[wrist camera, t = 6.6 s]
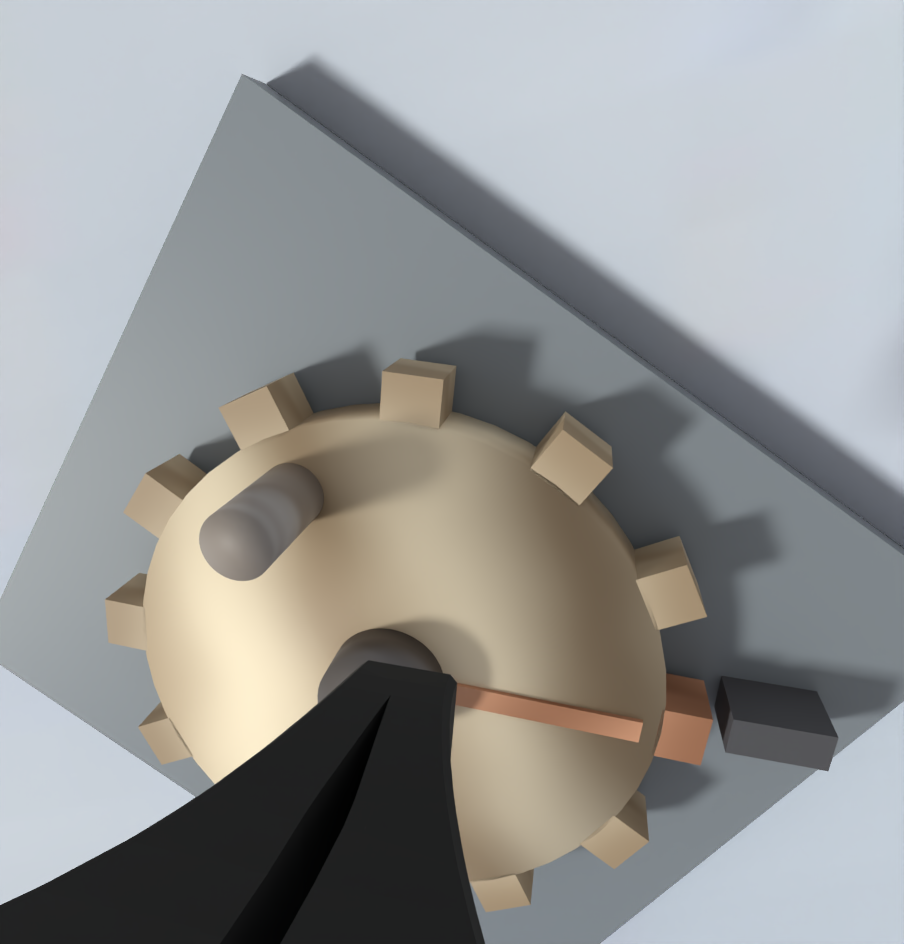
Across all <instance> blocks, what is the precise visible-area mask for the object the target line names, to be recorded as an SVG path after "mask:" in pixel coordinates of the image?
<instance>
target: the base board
mask: <svg viewBox="0 0 904 944" xmlns="http://www.w3.org/2000/svg"><path fill="white" fill-rule="evenodd" d="M400 358H403V359H410V360H417V361H425V362H432V363H439V364H447V365H454V366H456V376H455V386H454V396H453V406H452V412H457V413H461V414H464V415H467V416H470V417H472V418H475V419H478V420H481V421H484V422H487V423H490V424H492V425H495V426H497V427H499V428H501V429H503V430H505V431H507V432H509V433H511V434H513V435H515V436H517V437H519V438H522V439H524V440H526V441H528V442H529V443H531V444H532V445H534V446H535V447H536V446H537V445H538V444H539V443H540V442H541V440H542V439H543V438H544V437H545V436H546V434H547V433H548V432H549V431H550V430H551V428H552V427H553V426H554V425H555V424H556V422H557V421H558V420H559V419H560V417H561V416H562V415H563V414H564V413H565V411H566V412H567V413H568V414H570V415H571V416H572V417H573V418H575V419H576V420H577V421H579V422H580V423H581V424H583V425H584V426H585V427H587V428H588V429H589V430H590V431H592V432H593V433H594V434H596V435H597V436H598V437H600V438H601V439H602V440H604V441H605V442H606V443H607V444H609V445H610V446H611V447H612V461H613V469H612V470H611V471H610V472H609V473H608V474H607V475H606V476H605V478H604V479H603V480H602V481H601V482H600V483H599V484H598V485H597V486H596V488H595V489H594V490H593V491H592V492H593V494H594V495H595V496H596V497H597V498H598V499H599V500H600V501H601V503H602V504H603V505H604V506H605V507H606V508H607V509H608V510H609V512H610V513H611V514H612V515H613V517H614V518H615V520H616V521H617V523H618V524H619V526H620V527H621V529H622V530H623V532H624V533H625V535H626V536H627V538H628V539H629V541H630V542H631V544H632V546H633V548H634V550H635V549H638V548H641V547H645V546H648V545H651V544H654V543H658V542H661V541H664V540H667V539H671V538H674V537H677V536H680V539H681V541H682V544H683V546H684V549H685V552H686V554H687V557H688V559H689V562H690V565H691V567H692V570H693V573H694V575H695V578H696V580H697V583H698V586H699V590H700V593H701V597H702V600H703V604H704V607H705V611H706V615H707V617H705V618H701V619H697V620H694V621H690V622H686V623H682V624H679V625H675V626H671V627H668V628H664V629H660V635H661V642H662V648H663V654H664V661H665V667H666V673H667V674H673V675H678V676H683V677H688V678H694V679H699V680H704V683H705V687H706V692H707V696H708V700H709V704H710V709H711V713H712V717H713V722H712V726H711V730H710V733H709V737H708V740H707V744H706V748H705V751H704V755H703V758H702V762H701V766H700V765H696V764H691V763H686V762H681V761H676V760H672V759H667V758H662V757H657V756H653V759H652V762H651V764H650V766H649V768H648V770H647V772H646V774H645V776H644V777H643V779H642V781H641V783H640V785H639V787H638V789H637V791H639V792H640V793H641V794H643V795H644V796H645V799H646V811H647V822H648V834H649V842H648V843H647V844H645V845H644V846H643V847H642V848H640V849H639V850H638V851H637V852H635V853H634V854H633V855H632V856H630V857H629V858H628V859H627V860H625V861H624V862H623V863H622V864H620V865H619V866H618V867H617V868H615V869H613V868H612V867H610V866H609V865H608V864H606V863H605V862H604V861H602V860H601V859H599V858H598V857H597V856H595V855H594V854H593V853H591V852H590V851H588V850H587V849H586V848H584V847H583V846H582V845H580V846H579V847H578V848H576V849H575V850H573V851H571V852H569V853H567V854H565V855H563V856H561V857H559V858H558V859H556V860H554V861H552V862H550V863H547V864H545V865H542V866H539V867H537V868H534V875H533V885H532V896H531V905H527V906H521V907H515V908H509V909H503V910H497V911H490V912H486V911H485V909H484V908H483V906H482V904H481V902H480V900H479V898H478V896H477V894H476V893H475V891H474V889H473V887H472V885H471V883H470V886H471V891H472V895H473V899H474V903H475V907H476V911H477V915H478V919H479V923H480V926H481V930H482V934H483V937H484V941H485V944H600V943H601V942H602V941H604V940H605V939H606V938H607V937H609V936H610V935H611V934H612V933H614V932H615V931H616V930H617V929H619V928H620V927H621V926H622V925H624V924H625V923H626V922H627V921H629V920H630V919H631V918H633V917H634V916H635V915H636V914H638V913H639V912H640V911H641V910H643V909H644V908H645V907H646V906H648V905H649V904H650V903H651V902H653V901H654V900H655V899H656V898H658V897H659V896H660V895H661V894H663V893H664V892H665V891H666V890H668V889H669V888H670V887H671V886H673V885H674V884H675V883H676V882H678V881H679V880H680V879H681V878H683V877H684V876H685V875H686V874H688V873H689V872H690V871H691V870H693V869H694V868H695V867H696V866H698V865H699V864H700V863H701V862H703V861H704V860H705V859H706V858H708V857H709V856H710V855H711V854H713V853H714V852H715V851H716V850H718V849H719V848H720V847H721V846H723V845H724V844H725V843H726V842H728V841H729V840H730V839H731V838H733V837H734V836H735V835H736V834H738V833H739V832H740V831H741V830H743V829H744V828H745V827H746V826H748V825H749V824H750V823H751V822H753V821H754V820H755V819H756V818H758V817H759V816H760V815H761V814H763V813H764V812H765V811H766V810H768V809H769V808H770V807H772V806H773V805H774V804H775V803H777V802H778V801H779V800H780V799H782V798H783V797H784V796H785V795H787V794H788V793H789V792H790V791H792V790H793V789H794V788H795V787H797V786H798V785H799V784H800V783H802V782H803V781H804V780H805V779H807V778H808V777H809V776H810V775H812V774H813V773H814V772H815V771H817V770H818V769H819V770H825V771H828V770H829V767H830V764H831V761H832V758H833V757H834V756H835V755H837V754H838V753H839V752H840V751H842V750H843V749H844V748H845V747H847V746H848V745H849V744H850V743H852V742H853V741H854V740H855V739H857V738H858V737H859V736H860V735H862V734H863V733H864V732H865V731H867V730H868V729H869V728H870V727H872V726H873V725H874V724H875V723H877V722H878V721H879V720H880V719H882V718H883V717H884V716H885V715H887V714H888V713H889V712H890V711H892V710H893V709H894V708H895V707H897V706H898V705H899V704H900V703H902V702H903V701H904V548H902V547H901V546H899V545H898V544H897V543H895V542H894V541H893V540H891V539H890V538H889V537H887V536H886V535H884V534H883V533H882V532H880V531H879V530H878V529H876V528H875V527H873V526H872V525H871V524H869V523H868V522H867V521H865V520H864V519H862V518H861V517H860V516H858V515H857V514H856V513H854V512H853V511H851V510H850V509H849V508H847V507H846V506H845V505H843V504H842V503H840V502H839V501H838V500H836V499H835V498H834V497H832V496H831V495H829V494H828V493H827V492H825V491H824V490H823V489H821V488H820V487H818V486H817V485H816V484H814V483H813V482H812V481H810V480H809V479H807V478H806V477H805V476H803V475H802V474H801V473H799V472H798V471H796V470H795V469H794V468H792V467H791V466H790V465H788V464H787V463H785V462H784V461H783V460H781V459H780V458H779V457H777V456H776V455H774V454H773V453H772V452H770V451H769V450H768V449H766V448H765V447H763V446H762V445H761V444H759V443H758V442H757V441H755V440H754V439H753V438H751V437H750V436H748V435H747V434H746V433H744V432H743V431H742V430H740V429H739V428H737V427H736V426H735V425H733V424H732V423H731V422H729V421H728V420H726V419H725V418H724V417H722V416H721V415H720V414H718V413H717V412H715V411H714V410H713V409H711V408H710V407H709V406H707V405H706V404H704V403H703V402H702V401H700V400H699V399H698V398H696V397H695V396H693V395H692V394H691V393H689V392H688V391H687V390H685V389H684V388H682V387H681V386H680V385H678V384H677V383H676V382H674V381H673V380H671V379H670V378H669V377H667V376H666V375H665V374H663V373H662V372H660V371H659V370H658V369H656V368H655V367H654V366H652V365H651V364H649V363H648V362H647V361H645V360H644V359H643V358H641V357H640V356H638V355H637V354H636V353H634V352H633V351H632V350H630V349H629V348H628V347H626V346H625V345H623V344H622V343H621V342H619V341H618V340H617V339H615V338H614V337H612V336H611V335H610V334H608V333H607V332H606V331H604V330H603V329H601V328H600V327H599V326H597V325H596V324H595V323H593V322H592V321H590V320H589V319H588V318H586V317H585V316H584V315H582V314H581V313H579V312H578V311H577V310H575V309H574V308H573V307H571V306H570V305H568V304H567V303H566V302H564V301H563V300H562V299H560V298H559V297H557V296H556V295H555V294H553V293H552V292H551V291H549V290H548V289H546V288H545V287H544V286H542V285H541V284H540V283H538V282H537V281H535V280H534V279H533V278H531V277H530V276H529V275H527V274H526V273H524V272H523V271H522V270H520V269H519V268H518V267H516V266H515V265H513V264H512V263H511V262H509V261H508V260H507V259H505V258H504V257H502V256H501V255H500V254H498V253H497V252H496V251H494V250H493V249H492V248H490V247H489V246H487V245H486V244H485V243H483V242H482V241H481V240H479V239H478V238H476V237H475V236H474V235H472V234H471V233H470V232H468V231H467V230H465V229H464V228H463V227H461V226H460V225H459V224H457V223H456V222H454V221H453V220H452V219H450V218H449V217H448V216H446V215H445V214H443V213H442V212H441V211H439V210H438V209H437V208H435V207H434V206H432V205H431V204H430V203H428V202H427V201H426V200H424V199H423V198H421V197H420V196H419V195H417V194H416V193H415V192H413V191H412V190H410V189H409V188H408V187H406V186H405V185H404V184H402V183H401V182H399V181H398V180H397V179H395V178H394V177H393V176H391V175H390V174H388V173H387V172H386V171H384V170H383V169H382V168H380V167H379V166H377V165H376V164H375V163H373V162H372V161H371V160H369V159H368V158H367V157H365V156H364V155H362V154H361V153H360V152H358V151H357V150H356V149H354V148H353V147H351V146H350V145H349V144H347V143H346V142H345V141H343V140H342V139H340V138H339V137H338V136H336V135H335V134H334V133H332V132H331V131H329V130H328V129H327V128H325V127H324V126H323V125H321V124H320V123H318V122H317V121H316V120H314V119H313V118H312V117H310V116H309V115H307V114H306V113H305V112H303V111H302V110H301V109H299V108H298V107H296V106H295V105H294V104H292V103H291V102H290V101H288V100H287V99H285V98H284V97H283V96H281V95H280V94H279V93H277V92H276V91H274V90H273V89H272V88H270V87H269V86H268V85H266V84H265V83H263V82H260V81H258V80H255V79H253V78H250V77H248V76H246V75H243V74H242V75H241V77H240V80H239V82H238V84H237V86H236V88H235V90H234V93H233V95H232V97H231V99H230V101H229V103H228V106H227V108H226V110H225V112H224V114H223V117H222V119H221V121H220V123H219V125H218V127H217V130H216V132H215V134H214V136H213V138H212V140H211V143H210V145H209V147H208V149H207V151H206V153H205V156H204V158H203V160H202V162H201V164H200V166H199V169H198V171H197V173H196V175H195V177H194V180H193V182H192V184H191V186H190V188H189V190H188V193H187V195H186V197H185V199H184V201H183V203H182V206H181V208H180V210H179V212H178V214H177V216H176V219H175V221H174V223H173V225H172V227H171V229H170V232H169V234H168V236H167V238H166V240H165V242H164V245H163V247H162V249H161V251H160V253H159V256H158V258H157V260H156V262H155V264H154V266H153V269H152V271H151V273H150V275H149V277H148V279H147V282H146V284H145V286H144V288H143V290H142V292H141V295H140V297H139V299H138V301H137V303H136V305H135V308H134V310H133V312H132V314H131V316H130V319H129V321H128V323H127V325H126V327H125V329H124V332H123V334H122V336H121V338H120V340H119V342H118V345H117V347H116V349H115V351H114V353H113V355H112V358H111V360H110V362H109V364H108V366H107V368H106V371H105V373H104V375H103V377H102V379H101V381H100V384H99V386H98V388H97V390H96V392H95V395H94V397H93V399H92V401H91V403H90V405H89V408H88V410H87V412H86V414H85V416H84V418H83V421H82V423H81V425H80V427H79V429H78V431H77V434H76V436H75V438H74V440H73V442H72V444H71V447H70V449H69V451H68V453H67V455H66V457H65V460H64V462H63V464H62V466H61V468H60V471H59V473H58V475H57V477H56V479H55V481H54V484H53V486H52V488H51V490H50V492H49V494H48V497H47V499H46V501H45V503H44V505H43V507H42V510H41V512H40V514H39V516H38V518H37V520H36V523H35V525H34V527H33V529H32V531H31V534H30V536H29V538H28V540H27V542H26V544H25V547H24V549H23V551H22V553H21V555H20V557H19V560H18V562H17V564H16V566H15V568H14V570H13V573H12V575H11V577H10V579H9V581H8V583H7V586H6V588H5V590H4V592H3V594H2V596H1V599H0V665H1V666H3V667H4V668H6V669H7V670H9V671H10V672H12V673H13V674H15V675H16V676H17V677H19V678H20V679H22V680H23V681H25V682H26V683H28V684H29V685H31V686H32V687H34V688H35V689H37V690H38V691H40V692H41V693H43V694H44V695H46V696H47V697H49V698H50V699H52V700H53V701H55V702H56V703H58V704H59V705H60V706H62V707H63V708H65V709H66V710H68V711H69V712H71V713H72V714H74V715H75V716H77V717H78V718H80V719H81V720H83V721H84V722H86V723H87V724H89V725H90V726H92V727H93V728H95V729H96V730H98V731H99V732H101V733H102V734H103V735H105V736H106V737H108V738H109V739H111V740H112V741H114V742H115V743H117V744H118V745H120V746H121V747H123V748H124V749H126V750H127V751H129V752H130V753H132V754H133V755H135V756H136V757H138V758H139V759H141V760H142V761H144V762H145V763H146V764H148V765H149V766H151V767H152V768H154V769H155V770H157V771H158V772H160V773H161V774H163V775H164V776H166V777H167V778H169V779H170V780H172V781H173V782H175V783H176V784H178V785H179V786H181V787H182V788H184V789H185V790H187V791H188V792H189V793H191V794H192V795H194V796H195V797H197V796H198V795H200V794H201V793H203V792H204V791H206V790H207V789H209V788H210V787H212V786H213V785H215V784H214V783H213V781H212V780H211V779H210V778H209V777H208V776H207V774H206V773H205V772H204V771H203V770H202V769H201V767H200V766H199V765H198V764H197V763H196V761H195V760H194V759H193V757H189V758H185V759H181V760H178V761H174V762H170V763H167V764H163V765H162V764H161V763H160V761H159V760H158V758H157V757H156V755H155V753H154V752H153V750H152V749H151V747H150V745H149V744H148V742H147V741H146V739H145V738H144V736H143V734H142V733H141V731H140V730H139V728H138V726H139V725H140V724H141V723H142V722H143V721H144V720H145V719H146V717H147V716H148V715H149V714H150V713H151V712H152V711H153V710H154V709H155V707H156V706H157V705H158V704H159V703H160V702H161V701H160V698H159V696H158V693H157V691H156V688H155V686H154V682H153V679H152V675H151V671H150V667H149V664H148V660H147V655H146V650H141V649H136V648H131V647H126V646H121V645H117V644H112V643H108V631H107V619H106V607H105V599H106V598H107V597H109V596H110V595H111V594H113V593H114V592H115V591H116V590H118V589H119V588H120V587H122V586H123V585H124V584H125V583H127V582H128V581H129V580H131V579H132V578H133V577H134V576H136V575H137V574H138V573H143V574H147V573H148V570H149V566H150V563H151V560H152V557H153V554H154V551H155V547H156V544H157V542H158V540H159V538H157V537H156V536H155V535H153V534H152V533H151V532H149V531H148V530H146V529H145V528H144V527H142V526H141V525H140V524H138V523H137V522H135V521H134V520H133V519H131V518H130V517H129V516H127V515H126V514H124V513H123V512H124V510H125V508H126V507H127V505H128V503H129V501H130V500H131V498H132V496H133V494H134V492H135V491H136V489H137V487H138V485H139V484H140V482H141V480H142V478H143V477H144V475H145V473H147V472H148V471H150V470H152V469H154V468H155V467H157V466H159V465H161V464H163V463H164V462H166V461H168V460H170V459H171V458H173V457H175V456H177V455H178V454H180V455H182V456H183V457H185V458H186V459H187V460H189V461H190V462H191V463H193V464H194V465H195V466H197V467H198V468H200V469H201V470H202V471H204V472H205V473H206V474H208V473H209V472H210V471H212V470H213V469H215V468H216V467H217V466H219V465H220V464H221V463H223V462H224V461H226V460H227V459H228V458H230V457H231V456H232V455H234V454H235V453H237V452H238V451H240V450H241V449H240V447H239V446H238V444H237V442H236V440H235V438H234V436H233V434H232V432H231V431H230V429H229V427H228V425H227V423H226V421H225V419H224V417H223V415H222V414H221V412H220V410H219V407H221V406H223V405H225V404H227V403H229V402H231V401H233V400H235V399H237V398H239V397H241V396H243V395H245V394H247V393H249V392H251V391H253V390H256V389H258V388H260V387H262V386H264V385H267V384H269V383H271V382H273V381H276V380H278V379H280V378H282V377H284V376H287V375H289V374H291V373H294V375H295V377H296V379H297V381H298V383H299V385H300V387H301V389H302V391H303V393H304V395H305V397H306V399H307V401H308V403H309V405H310V407H311V409H312V411H313V413H316V412H319V411H323V410H328V409H334V408H339V407H344V406H349V405H356V404H375V403H380V400H381V385H382V371H383V370H385V369H386V368H387V367H389V366H390V365H392V364H393V363H394V362H396V361H397V360H399V359H400Z"/></svg>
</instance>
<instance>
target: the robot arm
mask: <svg viewBox="0 0 904 944" xmlns="http://www.w3.org/2000/svg"><path fill="white" fill-rule="evenodd" d="M456 692H457V682H456V681H455V679H454V678H453V677H452V676H451V675H450V674H445V673H440V672H434V671H428V670H422V669H416V668H411V667H405V666H399V665H393V664H388V663H382V662H376V661H370V660H368V661H366V662H365V663H364V664H362V665H361V666H360V667H358V668H357V669H356V670H355V671H354V672H353V673H352V674H351V675H349V676H348V677H347V678H346V679H345V680H344V681H343V682H342V683H340V684H339V685H338V686H337V687H336V688H335V689H334V690H333V691H332V692H330V693H329V694H328V695H327V696H326V697H325V698H324V699H322V700H321V701H320V702H319V703H318V704H317V705H315V706H314V707H313V708H312V709H311V710H310V711H309V712H307V713H306V714H305V715H304V716H303V717H301V718H300V719H299V720H298V721H296V722H295V723H294V724H293V725H292V726H290V727H289V728H288V729H287V730H285V731H284V732H283V733H282V734H281V735H279V736H278V737H277V738H276V739H274V740H273V741H272V742H271V743H270V744H268V745H267V746H266V747H264V748H263V749H262V750H261V751H259V752H258V753H257V754H255V755H254V756H253V757H251V758H250V759H248V760H247V761H246V762H244V763H243V764H242V765H240V766H239V767H238V768H236V769H235V770H234V771H232V772H231V773H229V774H228V775H227V776H225V777H224V778H223V779H221V780H220V781H219V782H217V783H216V784H215V785H213V786H212V787H210V788H209V789H207V790H206V791H204V792H203V793H201V794H200V795H198V796H197V797H196V798H194V799H193V800H191V801H190V802H188V803H187V804H185V805H184V806H182V807H180V808H179V809H177V810H176V811H174V812H173V813H171V814H170V815H168V816H166V817H165V818H163V819H161V820H160V821H158V822H157V823H155V824H153V825H152V826H150V827H149V828H147V829H145V830H144V831H142V832H140V833H139V834H137V835H135V836H134V837H132V838H130V839H128V840H127V841H125V842H123V843H121V844H119V845H117V846H115V847H114V848H112V849H110V850H108V851H106V852H104V853H102V854H100V855H99V856H97V857H95V858H93V859H91V860H89V861H87V862H85V863H84V864H82V865H80V866H78V867H76V868H74V869H72V870H70V871H69V872H67V873H65V874H63V875H61V876H59V877H57V878H55V879H54V880H52V881H50V882H48V883H46V884H44V885H42V886H40V887H38V888H36V889H34V890H31V891H29V892H27V893H25V894H23V895H21V896H19V897H17V898H15V899H12V900H10V901H8V902H6V903H4V904H2V905H0V944H485V941H484V937H483V934H482V930H481V926H480V923H479V919H478V915H477V911H476V907H475V903H474V899H473V895H472V891H471V886H470V882H469V878H468V873H467V869H466V864H465V859H464V854H463V849H462V844H461V838H460V832H459V826H458V820H457V814H456V806H455V799H454V791H453V780H452V769H451V750H452V739H453V727H454V715H455V704H456Z"/></svg>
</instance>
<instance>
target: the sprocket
mask: <svg viewBox="0 0 904 944" xmlns="http://www.w3.org/2000/svg"><path fill="white" fill-rule="evenodd" d="M455 376H456V366H454V365H447V364H439V363H432V362H425V361H417V360H410V359H403V358H400V359H399V360H397V361H396V362H394V363H393V364H392V365H390V366H389V367H387V368H386V369H385V370H383V371H382V385H381V400H380V403H375V404H356V405H349V406H344V407H339V408H334V409H328V410H323V411H319V412H316V413H313V411H312V409H311V407H310V405H309V403H308V401H307V399H306V397H305V395H304V393H303V391H302V389H301V387H300V385H299V383H298V381H297V379H296V377H295V375H294V373H291V374H289V375H287V376H284V377H282V378H280V379H278V380H276V381H273V382H271V383H269V384H267V385H264V386H262V387H260V388H258V389H256V390H253V391H251V392H249V393H247V394H245V395H243V396H241V397H239V398H237V399H235V400H233V401H231V402H229V403H227V404H225V405H223V406H221V407H219V410H220V412H221V414H222V415H223V417H224V419H225V421H226V423H227V425H228V427H229V429H230V431H231V432H232V434H233V436H234V438H235V440H236V442H237V444H238V446H239V447H240V449H241V450H240V451H238V452H237V453H235V454H234V455H232V456H231V457H230V458H228V459H227V460H226V461H224V462H223V463H221V464H220V465H219V466H217V467H216V468H215V469H213V470H212V471H210V472H209V473H208V474H206V473H205V472H204V471H202V470H201V469H200V468H198V467H197V466H195V465H194V464H193V463H191V462H190V461H189V460H187V459H186V458H185V457H183V456H182V455H180V454H178V455H177V456H175V457H173V458H171V459H170V460H168V461H166V462H164V463H163V464H161V465H159V466H157V467H155V468H154V469H152V470H150V471H148V472H147V473H145V475H144V477H143V478H142V480H141V482H140V484H139V485H138V487H137V489H136V491H135V492H134V494H133V496H132V498H131V500H130V501H129V503H128V505H127V507H126V508H125V510H124V512H123V513H124V514H126V515H127V516H129V517H130V518H131V519H133V520H134V521H135V522H137V523H138V524H140V525H141V526H142V527H144V528H145V529H146V530H148V531H149V532H151V533H152V534H153V535H155V536H156V537H157V538H159V540H158V542H157V544H156V547H155V551H154V554H153V557H152V560H151V563H150V566H149V570H148V573H147V574H143V573H138V574H137V575H136V576H134V577H133V578H132V579H131V580H129V581H128V582H127V583H125V584H124V585H123V586H122V587H120V588H119V589H118V590H116V591H115V592H114V593H113V594H111V595H110V596H109V597H107V598H106V599H105V607H106V619H107V631H108V643H112V644H117V645H121V646H126V647H131V648H136V649H141V650H146V655H147V660H148V664H149V667H150V671H151V675H152V679H153V682H154V686H155V688H156V691H157V693H158V696H159V698H160V701H161V702H160V703H159V704H158V705H157V706H156V707H155V709H154V710H153V711H152V712H151V713H150V714H149V715H148V716H147V717H146V719H145V720H144V721H143V722H142V723H141V724H140V725H139V726H138V728H139V730H140V731H141V733H142V734H143V736H144V738H145V739H146V741H147V742H148V744H149V745H150V747H151V749H152V750H153V752H154V753H155V755H156V757H157V758H158V760H159V761H160V763H161V764H162V765H163V764H167V763H170V762H174V761H178V760H181V759H185V758H189V757H193V759H194V760H195V761H196V763H197V764H198V765H199V766H200V767H201V769H202V770H203V771H204V772H205V773H206V774H207V776H208V777H209V778H210V779H211V780H212V781H213V783H214V784H216V783H217V782H219V781H220V780H221V779H223V778H224V777H225V776H227V775H228V774H229V773H231V772H232V771H234V770H235V769H236V768H238V767H239V766H240V765H242V764H243V763H244V762H246V761H247V760H248V759H250V758H251V757H253V756H254V755H255V754H257V753H258V752H259V751H261V750H262V749H263V748H264V747H266V746H267V745H268V744H270V743H271V742H272V741H273V740H274V739H276V738H277V737H278V736H279V735H281V734H282V733H283V732H284V731H285V730H287V729H288V728H289V727H290V726H292V725H293V724H294V723H295V722H296V721H298V720H299V719H300V718H301V717H303V716H304V715H305V714H306V713H307V712H309V711H310V710H311V709H312V708H313V707H314V706H315V705H317V704H318V703H319V702H320V701H321V700H322V699H324V698H325V697H326V696H327V695H328V694H329V693H330V692H332V691H333V690H334V689H335V688H336V687H337V686H338V685H339V684H340V683H342V682H343V681H344V680H345V679H346V678H347V677H348V676H349V675H351V674H352V673H353V672H354V671H355V670H356V669H357V668H358V667H360V666H361V665H362V664H364V663H365V662H366V661H368V660H370V661H376V662H382V663H388V664H393V665H399V666H405V667H411V668H416V669H422V670H428V671H434V672H440V673H445V674H450V675H451V676H452V677H453V678H454V679H455V681H456V682H457V692H456V704H455V715H454V727H453V739H452V750H451V769H452V780H453V791H454V799H455V806H456V814H457V820H458V826H459V832H460V838H461V844H462V849H463V854H464V859H465V864H466V869H467V873H468V878H469V882H470V883H471V885H472V887H473V889H474V891H475V893H476V894H477V896H478V898H479V900H480V902H481V904H482V906H483V908H484V909H485V911H486V912H490V911H497V910H503V909H509V908H515V907H521V906H527V905H531V896H532V885H533V875H534V868H537V867H539V866H542V865H545V864H547V863H550V862H552V861H554V860H556V859H558V858H559V857H561V856H563V855H565V854H567V853H569V852H571V851H573V850H575V849H576V848H578V847H579V846H580V845H582V846H583V847H584V848H586V849H587V850H588V851H590V852H591V853H593V854H594V855H595V856H597V857H598V858H599V859H601V860H602V861H604V862H605V863H606V864H608V865H609V866H610V867H612V868H613V869H615V868H617V867H618V866H619V865H620V864H622V863H623V862H624V861H625V860H627V859H628V858H629V857H630V856H632V855H633V854H634V853H635V852H637V851H638V850H639V849H640V848H642V847H643V846H644V845H645V844H647V843H648V842H649V834H648V822H647V811H646V799H645V796H644V795H643V794H641V793H640V792H639V791H637V789H638V787H639V785H640V783H641V781H642V779H643V777H644V776H645V774H646V772H647V770H648V768H649V766H650V764H651V762H652V759H653V756H657V757H662V758H667V759H672V760H676V761H681V762H686V763H691V764H696V765H700V766H701V762H702V758H703V755H704V751H705V748H706V744H707V740H708V737H709V733H710V730H711V726H712V722H713V717H712V713H711V709H710V704H709V700H708V696H707V692H706V687H705V683H704V680H699V679H694V678H688V677H683V676H678V675H673V674H667V673H666V667H665V661H664V654H663V648H662V642H661V635H660V629H664V628H668V627H671V626H675V625H679V624H682V623H686V622H690V621H694V620H697V619H701V618H705V617H707V615H706V611H705V607H704V604H703V600H702V597H701V593H700V590H699V586H698V583H697V580H696V578H695V575H694V573H693V570H692V567H691V565H690V562H689V559H688V557H687V554H686V552H685V549H684V546H683V544H682V541H681V539H680V536H677V537H674V538H671V539H667V540H664V541H661V542H658V543H654V544H651V545H648V546H645V547H641V548H638V549H635V550H634V548H633V546H632V544H631V542H630V541H629V539H628V538H627V536H626V535H625V533H624V532H623V530H622V529H621V527H620V526H619V524H618V523H617V521H616V520H615V518H614V517H613V515H612V514H611V513H610V512H609V510H608V509H607V508H606V507H605V506H604V505H603V504H602V503H601V501H600V500H599V499H598V498H597V497H596V496H595V495H594V494H593V492H592V491H593V490H594V489H595V488H596V486H597V485H598V484H599V483H600V482H601V481H602V480H603V479H604V478H605V476H606V475H607V474H608V473H609V472H610V471H611V470H612V469H613V461H612V447H611V446H610V445H609V444H607V443H606V442H605V441H604V440H602V439H601V438H600V437H598V436H597V435H596V434H594V433H593V432H592V431H590V430H589V429H588V428H587V427H585V426H584V425H583V424H581V423H580V422H579V421H577V420H576V419H575V418H573V417H572V416H571V415H570V414H568V413H567V412H566V411H565V413H564V414H563V415H562V416H561V417H560V419H559V420H558V421H557V422H556V424H555V425H554V426H553V427H552V428H551V430H550V431H549V432H548V433H547V434H546V436H545V437H544V438H543V439H542V440H541V442H540V443H539V444H538V445H537V446H536V447H535V446H534V445H532V444H531V443H529V442H528V441H526V440H524V439H522V438H519V437H517V436H515V435H513V434H511V433H509V432H507V431H505V430H503V429H501V428H499V427H497V426H495V425H492V424H490V423H487V422H484V421H481V420H478V419H475V418H472V417H470V416H467V415H464V414H461V413H457V412H452V406H453V396H454V386H455Z"/></svg>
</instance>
